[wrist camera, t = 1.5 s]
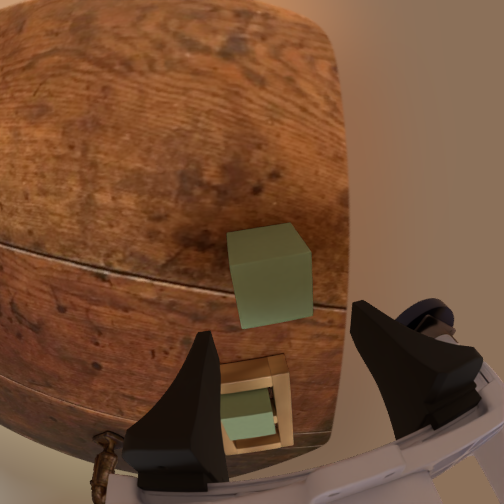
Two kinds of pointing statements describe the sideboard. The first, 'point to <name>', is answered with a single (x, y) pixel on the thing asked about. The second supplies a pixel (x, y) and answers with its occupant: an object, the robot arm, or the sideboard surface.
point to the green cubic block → (247, 414)
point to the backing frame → (278, 378)
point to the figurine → (104, 464)
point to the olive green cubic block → (270, 275)
